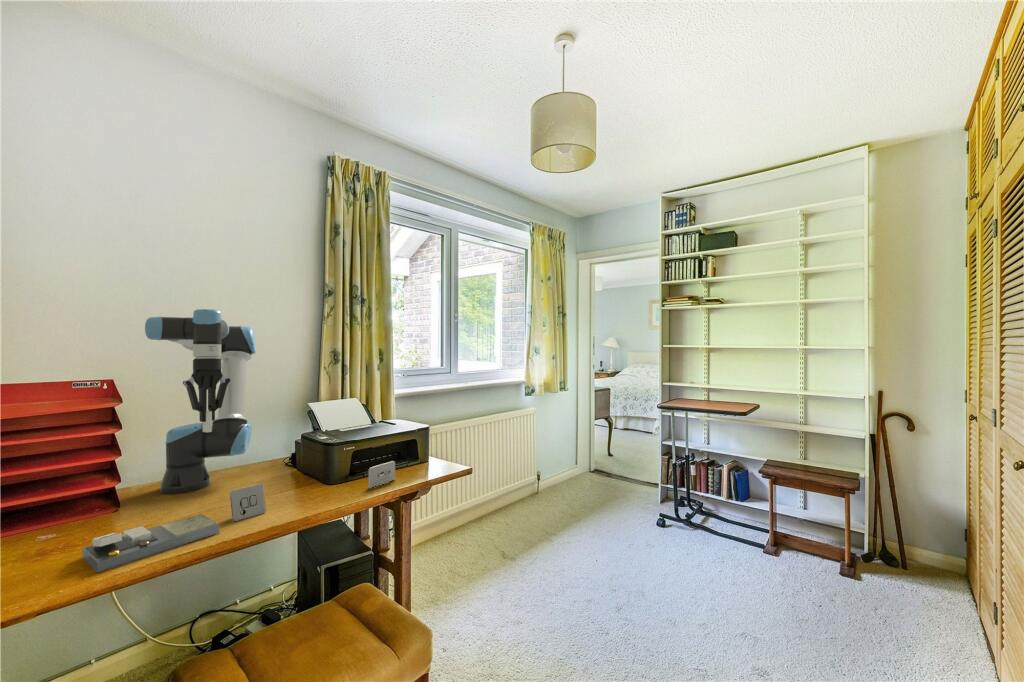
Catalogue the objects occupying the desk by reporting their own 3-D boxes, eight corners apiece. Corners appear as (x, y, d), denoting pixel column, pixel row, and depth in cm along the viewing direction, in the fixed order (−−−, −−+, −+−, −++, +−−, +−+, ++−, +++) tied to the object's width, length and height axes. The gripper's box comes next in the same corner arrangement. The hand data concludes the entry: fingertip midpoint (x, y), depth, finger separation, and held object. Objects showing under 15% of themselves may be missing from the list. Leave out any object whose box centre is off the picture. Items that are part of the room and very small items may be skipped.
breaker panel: (82, 557, 112) (82, 540, 112) (200, 522, 133) (200, 507, 133) (97, 572, 104) (97, 554, 104) (219, 533, 126) (219, 517, 126)
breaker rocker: (93, 546, 112) (92, 538, 112) (113, 540, 115) (113, 532, 115) (100, 546, 108) (100, 538, 108) (122, 540, 111) (121, 532, 111)
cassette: (392, 479, 174) (392, 460, 174) (396, 480, 173) (396, 461, 173) (367, 488, 164) (367, 467, 164) (370, 489, 163) (370, 468, 163)
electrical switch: (233, 522, 133) (232, 491, 134) (227, 520, 136) (226, 489, 137) (266, 513, 140) (265, 483, 141) (259, 510, 144) (258, 482, 144)
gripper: (189, 358, 133) (189, 436, 133) (235, 357, 144) (235, 429, 144) (178, 358, 137) (178, 434, 137) (223, 357, 148) (223, 427, 148)
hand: (207, 431), depth 140 cm, fingers closed
